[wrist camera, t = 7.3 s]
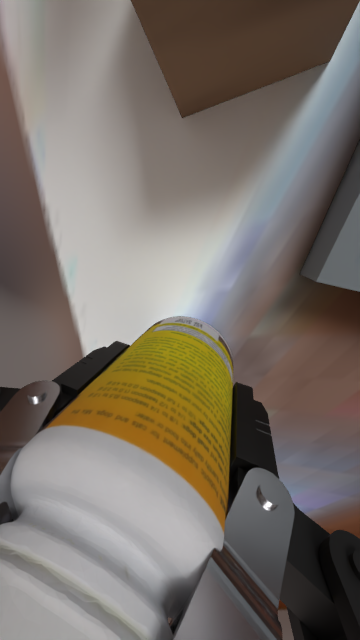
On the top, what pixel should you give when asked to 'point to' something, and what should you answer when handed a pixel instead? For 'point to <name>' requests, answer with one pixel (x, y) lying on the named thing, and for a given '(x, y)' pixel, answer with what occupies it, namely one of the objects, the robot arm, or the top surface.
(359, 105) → the top surface
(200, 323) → the supplement bottle
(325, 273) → the tray
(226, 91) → the walnut block
